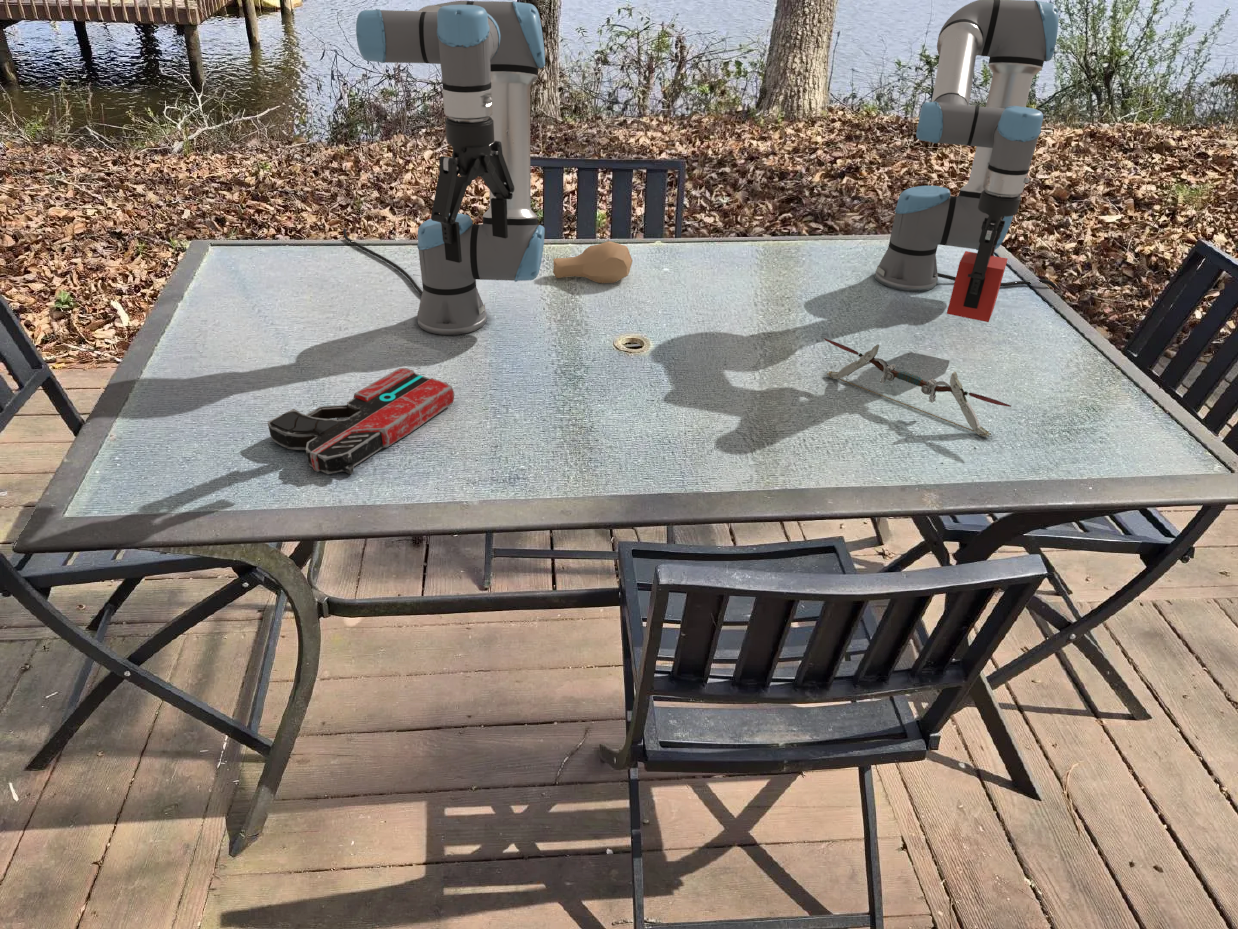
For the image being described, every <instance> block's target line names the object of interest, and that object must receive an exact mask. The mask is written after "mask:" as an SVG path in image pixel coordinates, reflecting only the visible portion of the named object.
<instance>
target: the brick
mask: <svg viewBox="0 0 1238 929" xmlns="http://www.w3.org/2000/svg"><path fill="white" fill-rule="evenodd" d="M976 256H977V252H974V251H967V250H965V251H964V252H963V255H962V256H961V258H960V261H959V264H958V267H957V272H956V276H955V277H956V279H955V281H954V283H953V288H952V290H951V294H950V299H949V302H948V307H947V311H946V314H947V315H951V316H954V317H955V316H956V317H960V318H966V319H971V320H976V321H980V322H986V323H989V322H990V320H991V318H992V314H993V312H994V309H995V305H996V302H997V298H998V296H999V292H1000V288H1001V287H1000V285H1001V283H1002V282H1003V278H1004V274H1005V270H1006V266H1007V263H1008V259H1009V258H1007V257H1002V256H996V255H994V256H991V257H990V260H989V263H988V267H987V270H986V274H985V281H984V284H983V288H982V292H981V296H980V299H979V303H978V307H977V309H975V308H970V307H965V306H963V305H964V301H965V298H966V294H967V290H968V286H969V282H970V279H971V277H968V274H971V273H972V271H973V267H974V263H975V260H976Z"/></svg>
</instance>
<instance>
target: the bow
mask: <svg viewBox="0 0 1238 929" xmlns="http://www.w3.org/2000/svg"><path fill="white" fill-rule="evenodd" d="M822 339H823V340H824V341H826V342H828V343H829V344H831V345H833V346H835V347H837V348H839V349H841V350H842V351H843V350H844V351H845V352H848V353H851V354H853V355H857V357H858V358H859V359H858V360H854V361H853V362H851V363H849V364H847V365H845V366H844V367H842V368H841V369H840V370H839V371H832V370H831V371H828V372H826V375H827V377H829V378H831V379H832V380H839V381H842V382H845V383H847V384H849V385H852V386H855V387H857V388H860V389H862V390H865V391H868V392H871V393H873V394H876V395H878V396H881V397H883V398H886V399H888V400H891V401H894V402H896V403H899V404H902V405H904V406H907V407H909V408H912V409H914V410H917V411H920V412H922V413H924V414H927V415H929V416H931V417H935V418H938V419H941V420H943V421H944V422H945V421H946V422H948V423H951V424H953V425H956V426H958V427H961V428H963V429H966V430H968V431H971V432H973V433H974V434H977V435H978V436H979V437H983V438H989V437H990V436H992V433H991V432H989V430H987V429H985V428H984V427H983V426H982V425H980V421H979V419H978V418H979V417H978V416H977V414H976V412H975V410H974V408H973V407H972V405H971V404H970V403H969V401H968V400H967V397H966V396H968V395H969V397H972V398H975V399H977V400H980V401H983V402H986V403H990V404H994V405H997V406H1003V407H1009V408H1011V407H1012V405H1011V404H1007V403H1005V402H1003V401H1000V400H998V399H995V398H991V397H988V396H985V395H981V394H979V393H975V392H968V391H966V390H964V388H963V384H962V383H961V381H960V380H959V378H958V374H957V371H953V372H952V373H951V376H950V380H949V383H948V382H946V381H944V380H940V381H939V380H938V381H937V380H936V379H934V378H933V377H932V378H930V379H929V380H928V381H926V380H924V379H923V378H922V377H921V376H918V375H916V374H913V373H910V372H907V371H904V370H896V368H897V367H896V366H897V365H896V364H895V363H893V364H888V362H887V361H886V360H884V359H883V358H879V357H876V356H877V355H878V352H879V349H880V344H876V345H874V347H872V348H871V350H868V351H866V352H865V353H864V354H863V353H861V352H858V351H857V350H855V349H853V348H850V347H848V346H846V345H843V344H842V343H839V342H837V341H833V340H831V339H828V338H826V337H825V338H824V337H823V338H822ZM875 357H876V358H875ZM870 364H872V365H873V366H875V368H877V370H879V371H880V372H882V375H881V377H880V380H879V382H878V383H879V384H881V385H884V384H885V383H887V381H889V382H893V381H894V380H895V379H898V380H900V381H902V382H906V383H908V384H910V385H914V386H916V387H921V389H920V391H921V393H922V394H924V395H928V403H932V404H934V402H936V397H937V394H936V393H937V392H938V393H945V392H949V393H951V395H952V396H953V397H954V399H955V401H956V402H957V404H958V405H959V408H960V410H961V413H962V414H963V416H964V417H965V419H966V422H967V424H968V425H969V427H970V428H969V427H966V426H963V425H961V424H958V423H957V422H956V423H955V422H953V421H952V420H951V421H950V420H948V419H946V418H943V417H940V416H937V415H935V414H933V413H929V412H928V411H925V410H922V409H919V408H917V407H914V406H912V405H909V404H906V403H904V402H901V401H899V400H896V399H893V398H891V397H888V396H886V395H883V394H881V393H879V392H876V391H873V390H870V389H868V388H865V387H862V386H860V385H857V384H855V383H852V382H850V381H847V380H844V379H843V378H845V377H849V376H850V375H851V374H853V373H854V372H856V371H857V370H859V369H861V368H864V367H865V366H867V365H870Z"/></svg>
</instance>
